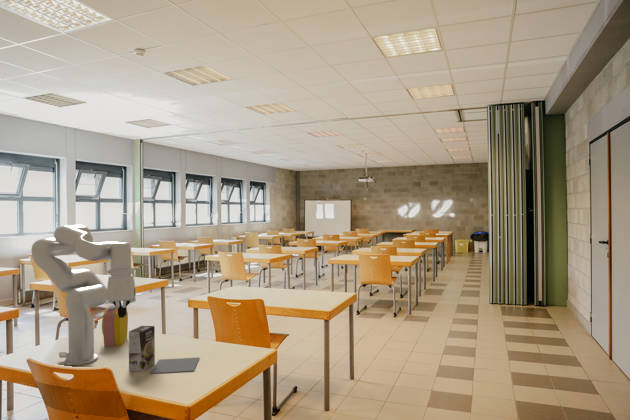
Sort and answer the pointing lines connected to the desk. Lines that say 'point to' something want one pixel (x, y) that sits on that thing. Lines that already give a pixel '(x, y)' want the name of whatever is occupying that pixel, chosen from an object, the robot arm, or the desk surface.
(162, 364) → the mat
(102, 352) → the desk surface
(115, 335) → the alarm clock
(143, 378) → the desk surface
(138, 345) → the coffee box
